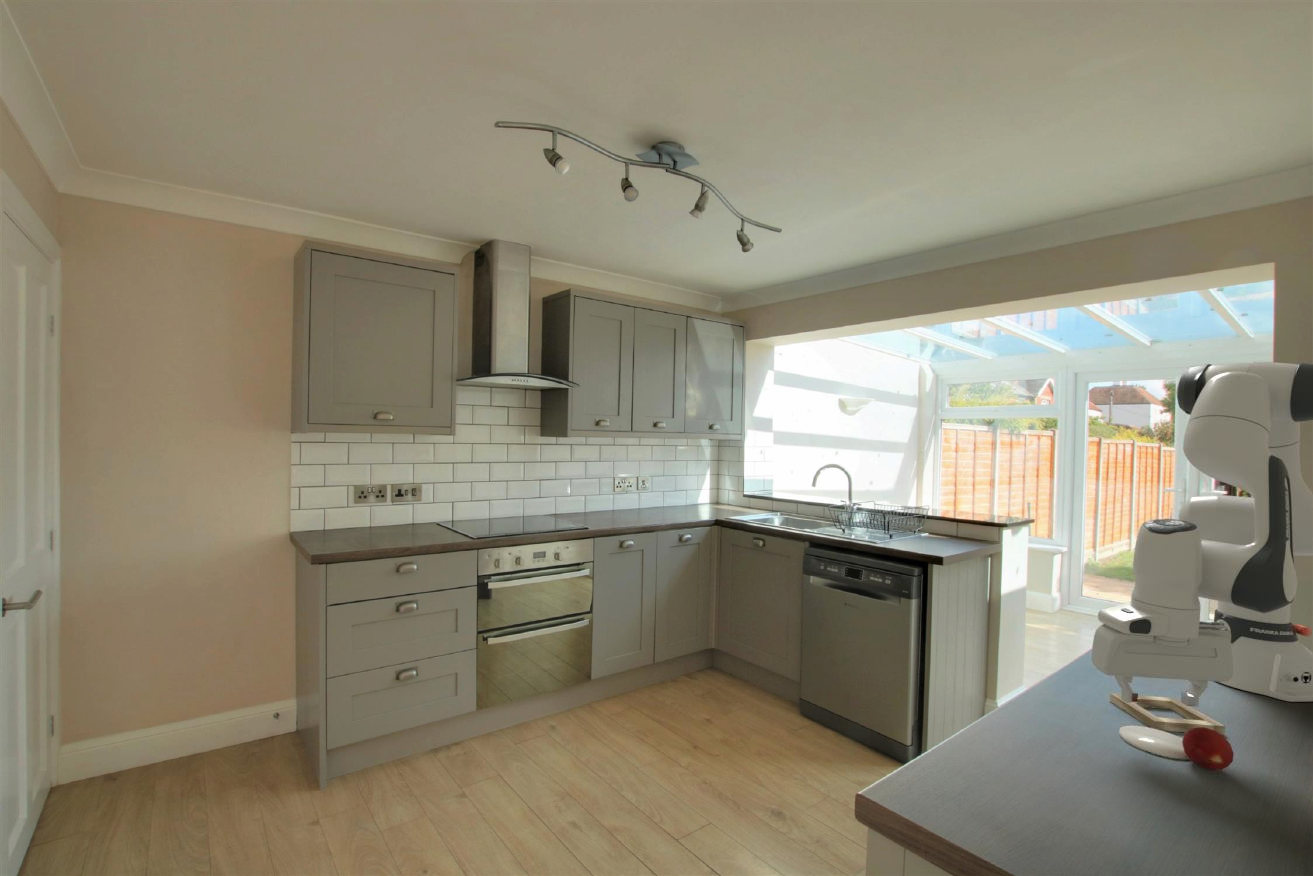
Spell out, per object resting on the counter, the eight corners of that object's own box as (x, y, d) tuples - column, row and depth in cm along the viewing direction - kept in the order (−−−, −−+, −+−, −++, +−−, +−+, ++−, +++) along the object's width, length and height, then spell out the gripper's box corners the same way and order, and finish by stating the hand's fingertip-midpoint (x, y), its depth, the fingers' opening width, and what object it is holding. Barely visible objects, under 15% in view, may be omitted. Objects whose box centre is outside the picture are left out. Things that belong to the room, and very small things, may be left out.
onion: (1195, 763, 100) (1212, 788, 93) (1167, 729, 102) (1181, 752, 95) (1233, 746, 98) (1253, 771, 91) (1204, 713, 100) (1221, 734, 92)
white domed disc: (1165, 731, 108) (1166, 727, 108) (1214, 761, 98) (1214, 758, 98) (1105, 727, 109) (1105, 723, 109) (1147, 756, 99) (1147, 753, 99)
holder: (1173, 705, 120) (1173, 697, 120) (1224, 734, 108) (1224, 726, 108) (1109, 701, 120) (1110, 693, 120) (1154, 729, 109) (1154, 721, 109)
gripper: (1214, 617, 106) (1210, 698, 107) (1088, 610, 107) (1083, 691, 108) (1247, 629, 100) (1242, 716, 100) (1112, 622, 101) (1108, 708, 101)
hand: (1159, 703), depth 104 cm, fingers open, 8 cm apart
